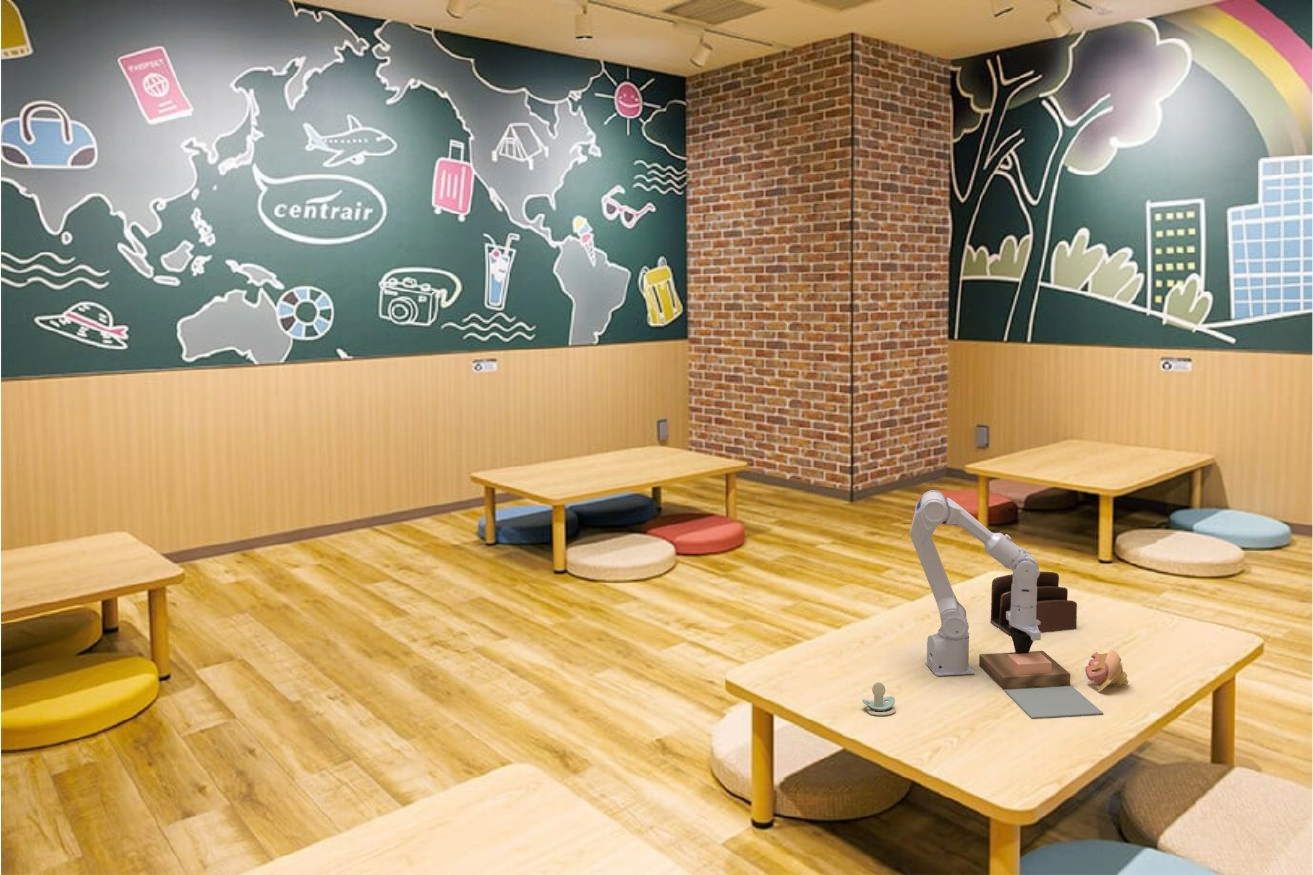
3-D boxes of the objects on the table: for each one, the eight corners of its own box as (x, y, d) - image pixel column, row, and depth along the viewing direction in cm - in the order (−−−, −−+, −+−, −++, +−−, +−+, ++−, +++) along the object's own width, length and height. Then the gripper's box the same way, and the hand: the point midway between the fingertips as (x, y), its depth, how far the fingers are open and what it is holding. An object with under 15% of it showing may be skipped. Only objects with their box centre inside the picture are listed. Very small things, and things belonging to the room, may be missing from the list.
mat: (1031, 718, 211) (1031, 717, 211) (1004, 691, 225) (1004, 689, 225) (1103, 714, 212) (1103, 712, 212) (1071, 687, 226) (1072, 685, 226)
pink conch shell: (1120, 679, 231) (1144, 663, 223) (1108, 711, 225) (1131, 696, 217) (1086, 656, 233) (1108, 639, 225) (1072, 687, 227) (1094, 671, 219)
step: (1002, 689, 226) (1003, 677, 225) (979, 665, 240) (979, 654, 239) (1069, 685, 227) (1070, 673, 226) (1042, 662, 241) (1042, 650, 240)
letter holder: (989, 623, 268) (991, 574, 265) (1055, 617, 271) (1057, 568, 269) (1008, 636, 258) (1010, 585, 256) (1077, 629, 261) (1079, 579, 259)
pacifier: (901, 715, 215) (890, 703, 221) (901, 689, 214) (891, 677, 220) (869, 719, 214) (859, 706, 220) (870, 692, 213) (860, 680, 218)
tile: (1017, 674, 227) (1018, 664, 226) (1007, 664, 232) (1007, 654, 232) (1051, 672, 227) (1051, 662, 227) (1039, 662, 233) (1040, 652, 233)
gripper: (1054, 613, 224) (1052, 669, 227) (1026, 593, 239) (1024, 645, 241) (1024, 615, 224) (1022, 670, 226) (998, 594, 238) (996, 647, 241)
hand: (1021, 658), depth 234 cm, fingers closed
